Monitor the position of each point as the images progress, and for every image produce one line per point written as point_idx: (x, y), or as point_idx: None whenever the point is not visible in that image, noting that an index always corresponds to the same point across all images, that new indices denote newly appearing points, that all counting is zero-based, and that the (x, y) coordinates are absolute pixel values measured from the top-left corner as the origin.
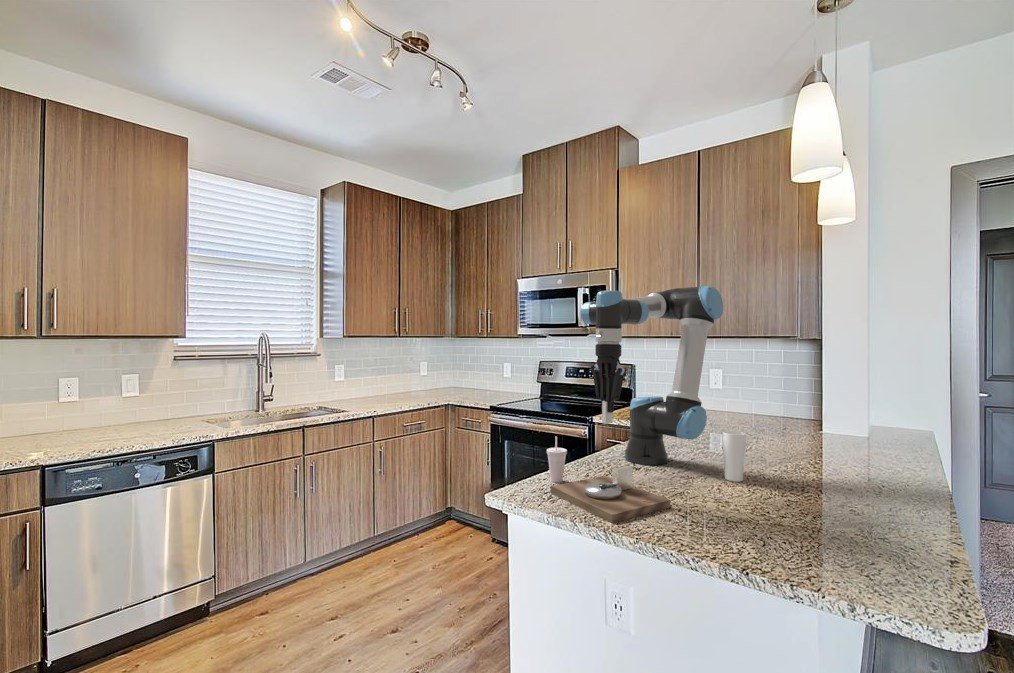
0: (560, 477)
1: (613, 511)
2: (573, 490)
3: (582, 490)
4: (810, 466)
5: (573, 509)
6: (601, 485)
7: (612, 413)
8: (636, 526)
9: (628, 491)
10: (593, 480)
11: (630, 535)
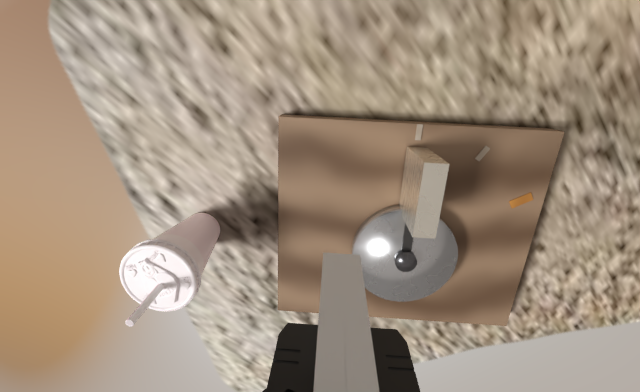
0: (216, 235)
1: (497, 310)
2: None
3: None
4: None
5: (392, 322)
6: (407, 269)
7: (365, 298)
8: (546, 287)
9: None
10: (298, 188)
11: (559, 326)
